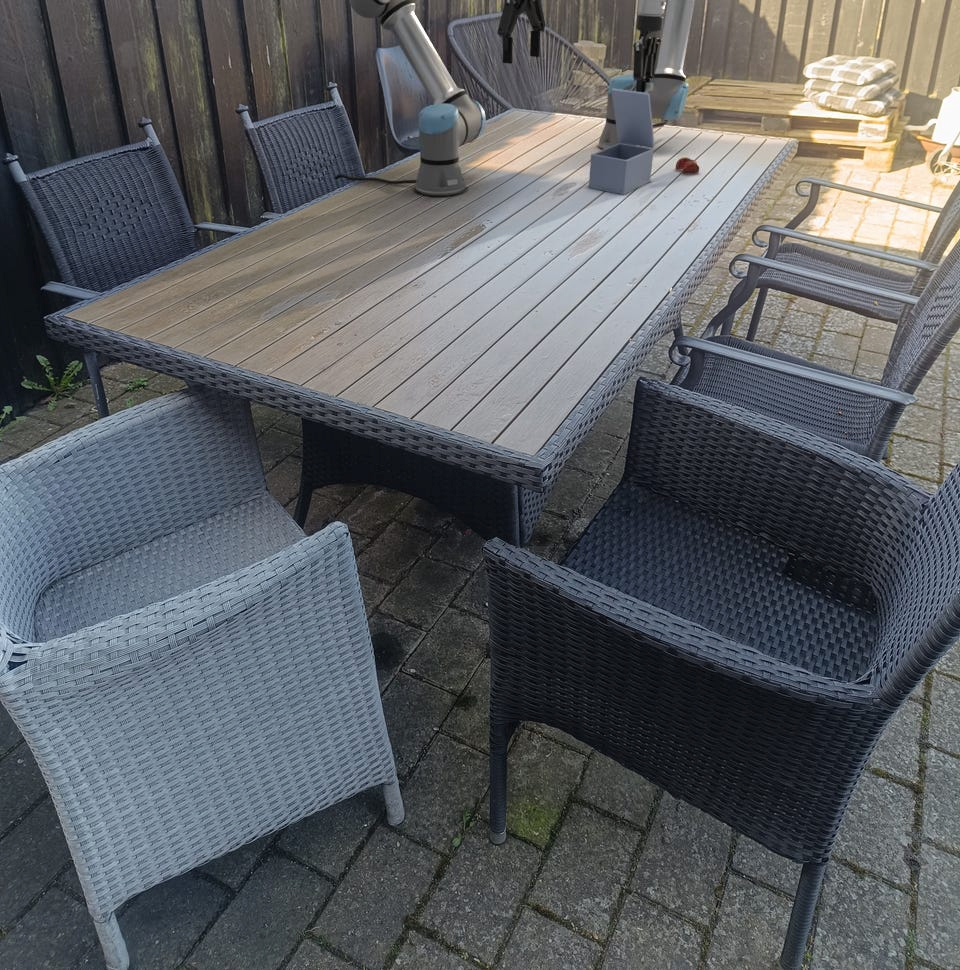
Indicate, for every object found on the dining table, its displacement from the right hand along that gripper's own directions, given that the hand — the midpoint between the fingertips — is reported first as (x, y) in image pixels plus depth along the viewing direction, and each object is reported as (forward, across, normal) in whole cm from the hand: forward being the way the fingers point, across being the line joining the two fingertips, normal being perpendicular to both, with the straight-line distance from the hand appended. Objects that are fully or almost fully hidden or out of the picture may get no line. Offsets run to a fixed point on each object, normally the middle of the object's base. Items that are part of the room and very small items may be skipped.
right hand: (641, 102), depth 256 cm
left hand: (-13, -31, +24) cm, 41 cm away
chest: (+22, -9, 0) cm, 24 cm away
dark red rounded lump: (+22, +17, -11) cm, 30 cm away
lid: (+4, -5, 0) cm, 6 cm away
